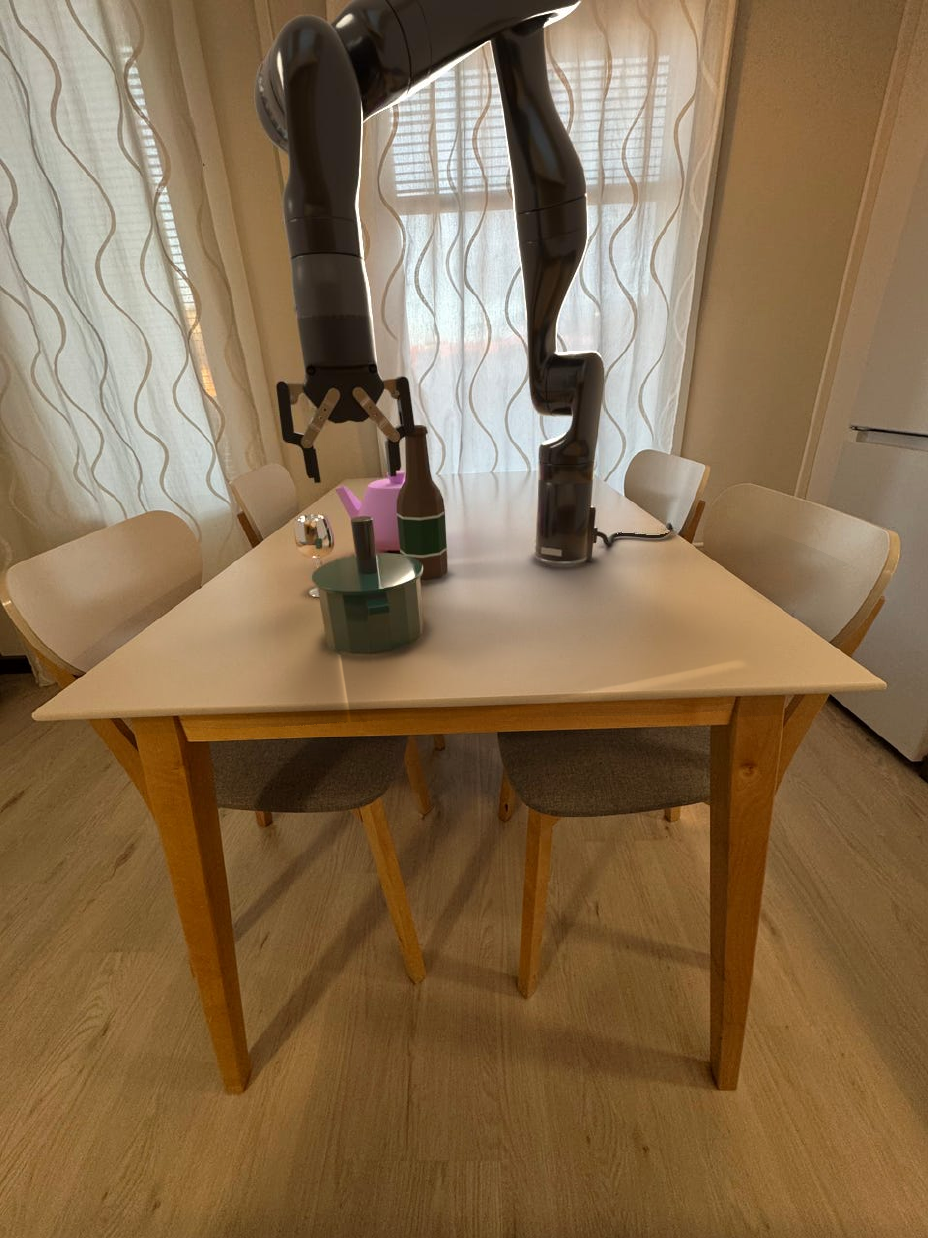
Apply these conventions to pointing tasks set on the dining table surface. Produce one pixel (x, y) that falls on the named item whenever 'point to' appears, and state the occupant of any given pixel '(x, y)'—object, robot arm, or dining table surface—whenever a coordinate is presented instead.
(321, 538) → the wineglass
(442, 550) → the beer bottle
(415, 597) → the pot
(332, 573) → the lid
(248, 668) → the dining table surface
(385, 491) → the teapot
